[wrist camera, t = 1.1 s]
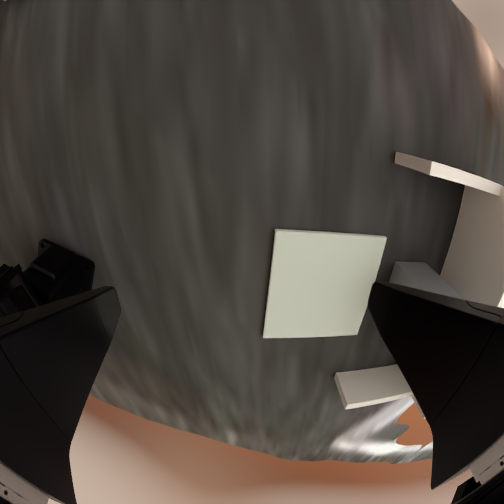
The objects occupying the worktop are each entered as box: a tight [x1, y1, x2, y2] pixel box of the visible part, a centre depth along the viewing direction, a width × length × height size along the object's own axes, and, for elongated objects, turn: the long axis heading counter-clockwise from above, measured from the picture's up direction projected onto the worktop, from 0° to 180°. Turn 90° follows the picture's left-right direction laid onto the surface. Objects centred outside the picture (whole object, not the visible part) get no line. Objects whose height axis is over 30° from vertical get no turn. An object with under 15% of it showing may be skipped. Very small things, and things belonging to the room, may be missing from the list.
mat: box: [263, 229, 387, 338], centre depth 25 cm, size 10×11×1 cm
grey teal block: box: [389, 261, 465, 300], centre depth 21 cm, size 4×6×10 cm, turn 176°
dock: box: [334, 152, 504, 419], centre depth 22 cm, size 12×26×9 cm, turn 176°
